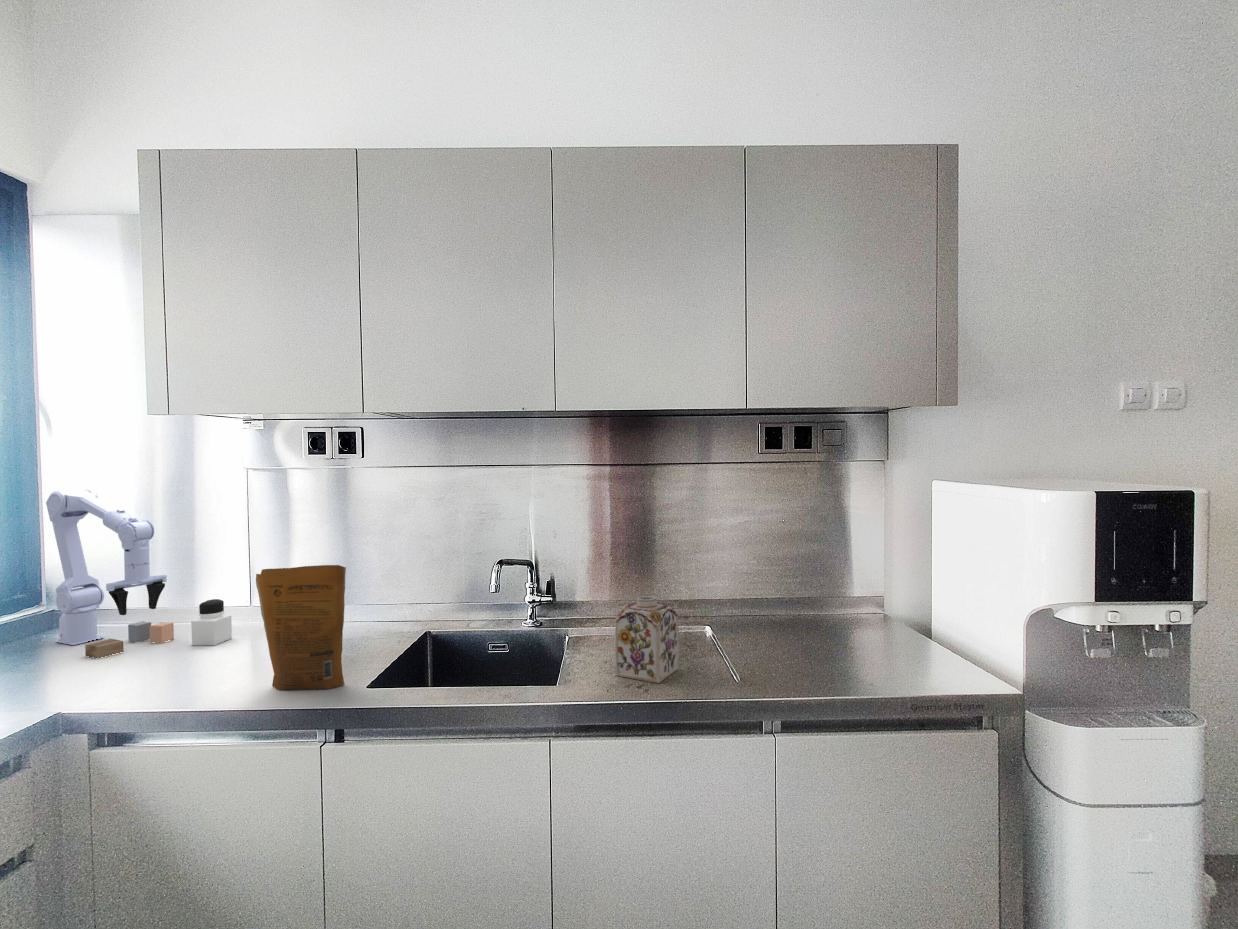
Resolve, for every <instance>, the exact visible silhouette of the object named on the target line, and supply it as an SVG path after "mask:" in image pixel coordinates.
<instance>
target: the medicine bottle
mask: <svg viewBox="0 0 1238 929" xmlns="http://www.w3.org/2000/svg"><path fill="white" fill-rule="evenodd" d="M224 605H225V604H224V600H222V599H218V598H217V599H216V598H215V599H214V598H212V599H207V600H203V601H201V602H199V603H198V616H199V617H198V618H197V617H196V618H195V619H191V624H190V625H191V645H192V646H217V645H219V643H220V644H223V642H224V641H225V642H227V641H230V640H232V638H233V637H232V636H233V634H232V633H233V632H232V631H233V630H232V629H233V628H232V626H233V625H232V615H231V614H224V613H225V609H224V608H225V606H224ZM226 640H227V641H226ZM225 642H224V643H225Z"/></svg>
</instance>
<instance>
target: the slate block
mask: <svg viewBox="0 0 1238 929" xmlns="http://www.w3.org/2000/svg"><path fill="white" fill-rule="evenodd" d="M151 625H152V622H150V621H146V620H145V621H143V620H142V621H139V622H134V623H133V622H132V623H130V624H129V623H128V624H127V628H128V630H127V632H128V642H129V641H134V642H139V641H143V642H145V641H144V640H147V641H149V640H148V639H150V626H151ZM134 642H133V643H134ZM139 643H140V642H139Z"/></svg>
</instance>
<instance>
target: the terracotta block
mask: <svg viewBox="0 0 1238 929" xmlns="http://www.w3.org/2000/svg"><path fill="white" fill-rule="evenodd" d="M174 632H175V630H174V622H167V621H166V622H163V621H162V622H158V623H155V624H151V626H150V640H149V643H150V642H155V643H154V644H164V643H163V642H165V641H168V640H171V639H174V640H175V633H174ZM171 641H172V640H171ZM168 642H169V641H168ZM165 643H166V642H165Z"/></svg>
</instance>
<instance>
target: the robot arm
mask: <svg viewBox="0 0 1238 929" xmlns="http://www.w3.org/2000/svg"><path fill="white" fill-rule="evenodd" d="M45 505H46V509H47V513H48V518H49V521H50V522H51V524H52V527H53V528H52V529H53V532H54V537H55V541H56V546H57V550H58V555H59V560H60V564H61V567H62V572H63V576H64V580H63V582H61V583H60V584H59V585H58V586H57V587H56V588H55V591H56V592H55V593H56V596H55V597H56V599H55V605H56V607H57V609H58V610H59V611H60V612H61V615H60V616H59V618H58V629H59V630H58V633H59V634H58V637H59V639H56V640H55V643H59V644H64V645H69V646H75V645H81V644H85V643H89V642H88V641H90V642H93V641H92V640H94V641H97V640H96V639H98V640H102V639H101V638H103V639H105V636H104V635H103V636H102V635H98V613H97V612H98V609H100V605H101V604H102V603H103V602H104V599H105V592H104V589H103V588H102V587H101V585H100V583H99V579H97V578H96V577H94V576H91V575H89V572H88V567H87V563H86V560H85V558H86V557H85V555H84V549H83V545H82V540H81V538H80V532H79V529H78V528H79V527H78V523H79V522H80V520H82V519H84V518H85V517H86V516H87V515H89V514H92V515H93V516H95V517H97V518H100V519H101V520H102V524H103V526H105V527H106V528H108V529H109V530H111V531H113V532H114V533H115V534H117V537H118V539H119V541H120V544H121V549H123V557H124V558H123V560H124V561H123V563H124V568H123V569H124V580H123V579H122V580H118V581H115V582H110V583H106V584H105V585H106V586H105V590H106V591H107V592H108V594H109V595H110V597H111V598H112V600H113V601H114V603H115V606H116V607H117V611H118V615H120V616H126V615H127V607H128V606H127V603H128V602H127V600H128V594H129V591H128V590H126V589H129V588H135V587H141V586H146V589H147V594H148V609H149V610H156V609H157V605H158V601H159V598H160V596H161V593H162V592H163V590H164V589H165V586H166V583H167V575H166V574H159V575H158V574H157V575H150V540H152V539H153V537H154V534H155V528H154V526H153V524H152V522H150V521H149V520H147V519H146V520H138V519H137V517H135V516H132V515H130V514H129V513H127V512H126V510H125V509H123V508H112V507H110V506H109V505H107V504H106V503H105V502H103V501H102V500H101V499H99V497H98V494H97V493H95V492H94V491H93V490H91V489H82V490H68V491H67V490H65V491H59V490H58V491H53V492H52V493H50V494H49V496H48V498H47V500H46V502H45Z"/></svg>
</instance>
